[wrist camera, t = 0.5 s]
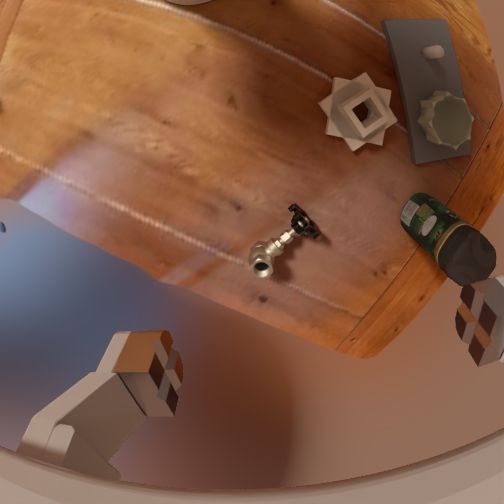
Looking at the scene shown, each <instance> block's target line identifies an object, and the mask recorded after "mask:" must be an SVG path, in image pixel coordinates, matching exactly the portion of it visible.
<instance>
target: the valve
mask: <svg viewBox="0 0 504 504" xmlns="http://www.w3.org/2000/svg"><path fill="white" fill-rule="evenodd" d="M288 209H289V211H290V212H292V211H294V213H295V215H294V216H293V218H292V220H291V223H292V224H291V227H292V229H290V230H289V231H288V230H285V231H284V232H283V233H282V234H280V236H281V238H276V239H274V238H271V239H270V240H269V241H267V242H263V241H259V240H258V241H257V242H256V243H255V244H254V245H253V246H252V247H251V248H250V254H249V264H250V270H251V273H252V276H253V277H256V278H260V279H266V278H267V277H269V276H270V275H271V274H272V273H273V272H274V270H273V264H274V260H275V257H276V256H280V255H281V254H282V253H283V252H284V249H283V248H284V247H285V245H284V244H285V243H287V244H288V243H290V242H291V241H292V240H293V239H294V237H293V235H294V234H296V233H298V234H300V233H301V234H302V235H304V236H310V235H311V234H312V237H313V238H314V239H316V238H317V237H318V236H319V235H320V234H321V232H320V231H319V229H318V228H316V227H315V225H316V224H315V223H314V222H313V221H312V220H310V219H309V218H308V217H307V214H306V212H305V211H304V210H302V211H301V210H300V208H299V206H298V205H297V204H292V205H291V206H290V207H289V208H288ZM304 230H305V231H306V232H307V233H306V232H305V231H304Z"/></svg>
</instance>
